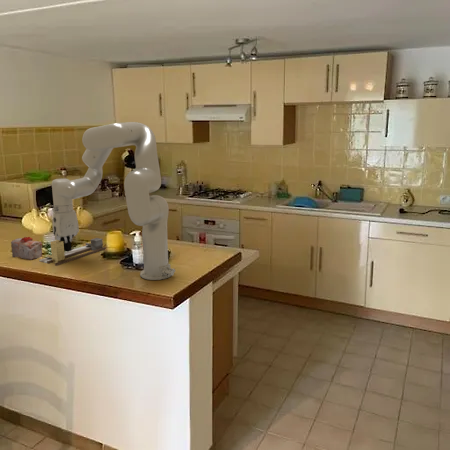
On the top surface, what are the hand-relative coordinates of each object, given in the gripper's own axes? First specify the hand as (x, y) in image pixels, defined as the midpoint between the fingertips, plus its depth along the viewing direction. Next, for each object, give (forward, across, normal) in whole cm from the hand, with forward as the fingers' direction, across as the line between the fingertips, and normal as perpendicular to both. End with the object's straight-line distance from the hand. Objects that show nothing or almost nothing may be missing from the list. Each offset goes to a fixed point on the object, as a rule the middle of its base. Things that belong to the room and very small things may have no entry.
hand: (67, 250), depth 196 cm
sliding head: (+4, -5, +3) cm, 7 cm away
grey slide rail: (+5, +5, +3) cm, 8 cm away
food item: (+5, -7, +19) cm, 21 cm away
